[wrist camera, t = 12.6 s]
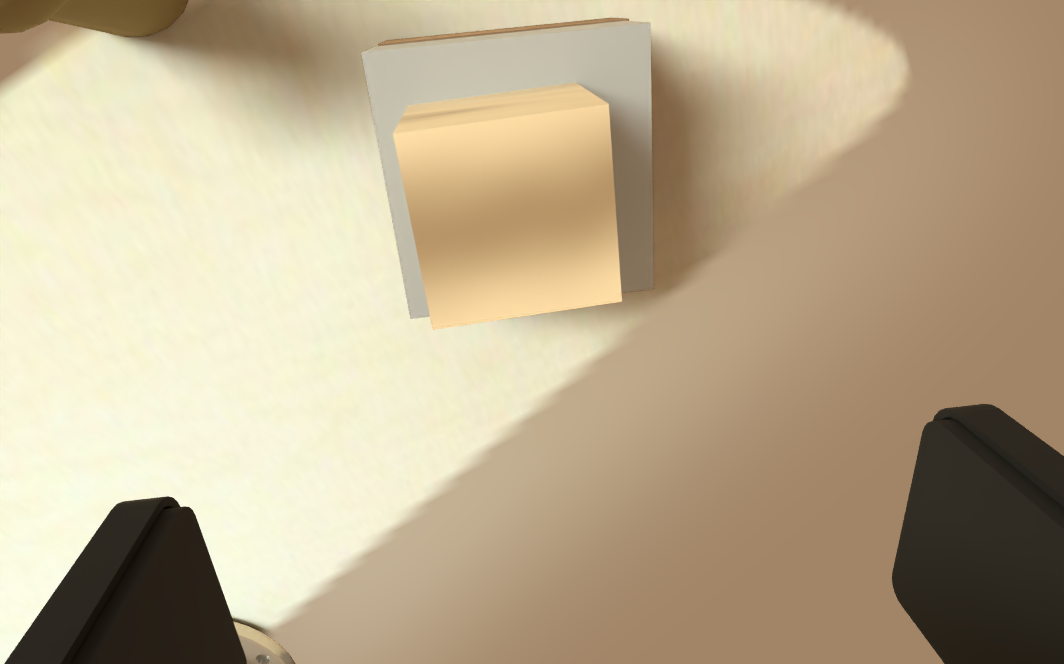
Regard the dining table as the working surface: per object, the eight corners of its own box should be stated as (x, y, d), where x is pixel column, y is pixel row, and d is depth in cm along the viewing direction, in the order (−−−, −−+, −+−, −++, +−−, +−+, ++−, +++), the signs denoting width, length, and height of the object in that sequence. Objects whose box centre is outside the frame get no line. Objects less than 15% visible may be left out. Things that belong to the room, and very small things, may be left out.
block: (589, 242, 27) (621, 301, 22) (438, 264, 27) (432, 329, 21) (575, 82, 24) (608, 103, 19) (408, 105, 24) (392, 133, 19)
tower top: (631, 257, 32) (654, 288, 28) (415, 282, 31) (410, 318, 28) (625, 20, 27) (650, 22, 24) (374, 46, 27) (361, 52, 23)
